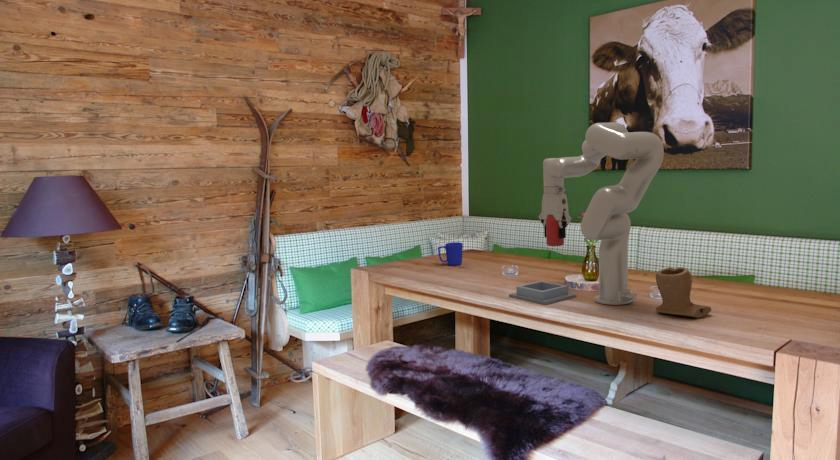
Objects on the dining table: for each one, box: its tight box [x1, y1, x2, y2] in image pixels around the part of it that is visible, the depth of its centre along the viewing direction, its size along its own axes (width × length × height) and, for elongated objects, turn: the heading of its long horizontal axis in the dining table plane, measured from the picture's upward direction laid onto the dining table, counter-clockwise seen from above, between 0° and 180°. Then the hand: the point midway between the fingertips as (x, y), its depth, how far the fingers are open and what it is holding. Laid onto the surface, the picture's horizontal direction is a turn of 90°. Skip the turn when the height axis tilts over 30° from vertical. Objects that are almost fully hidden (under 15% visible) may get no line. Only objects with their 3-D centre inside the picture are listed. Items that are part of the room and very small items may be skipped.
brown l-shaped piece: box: [655, 266, 712, 319], centre depth 206 cm, size 15×12×15 cm
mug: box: [437, 241, 464, 266], centre depth 311 cm, size 8×12×10 cm
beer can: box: [545, 215, 565, 247], centre depth 252 cm, size 7×7×12 cm
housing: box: [508, 280, 577, 306], centre depth 239 cm, size 18×16×4 cm
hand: (555, 237), depth 252 cm, fingers closed on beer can, 6 cm apart
